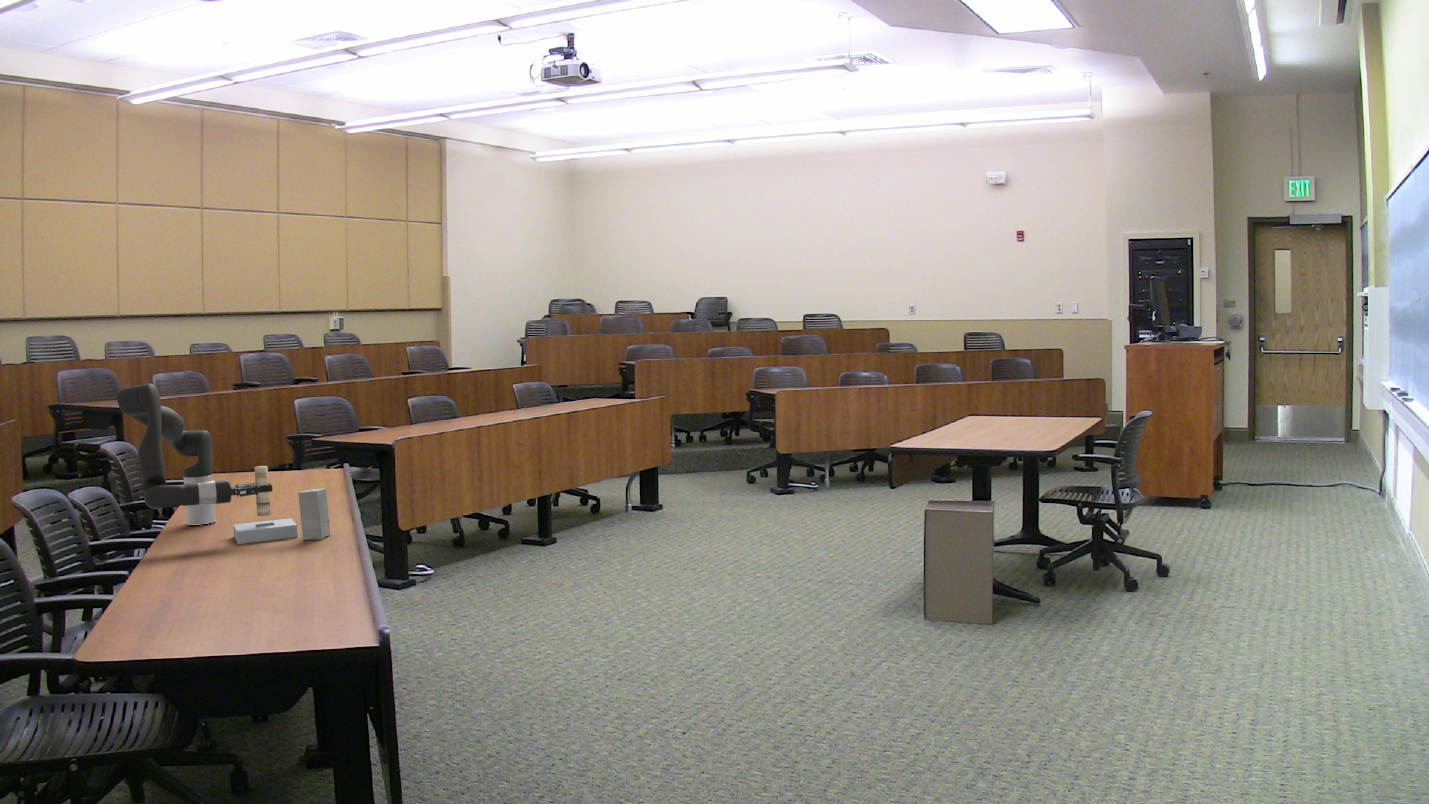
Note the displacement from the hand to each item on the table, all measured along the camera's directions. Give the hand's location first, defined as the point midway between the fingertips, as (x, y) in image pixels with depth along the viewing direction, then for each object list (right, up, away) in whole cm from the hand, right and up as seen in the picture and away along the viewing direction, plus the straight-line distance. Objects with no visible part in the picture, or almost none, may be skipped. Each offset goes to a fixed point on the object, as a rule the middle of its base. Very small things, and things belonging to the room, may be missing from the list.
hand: (271, 487), depth 355 cm
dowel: (-2, -9, -1) cm, 9 cm away
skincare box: (+16, -16, -4) cm, 23 cm away
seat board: (-2, -16, 0) cm, 17 cm away
